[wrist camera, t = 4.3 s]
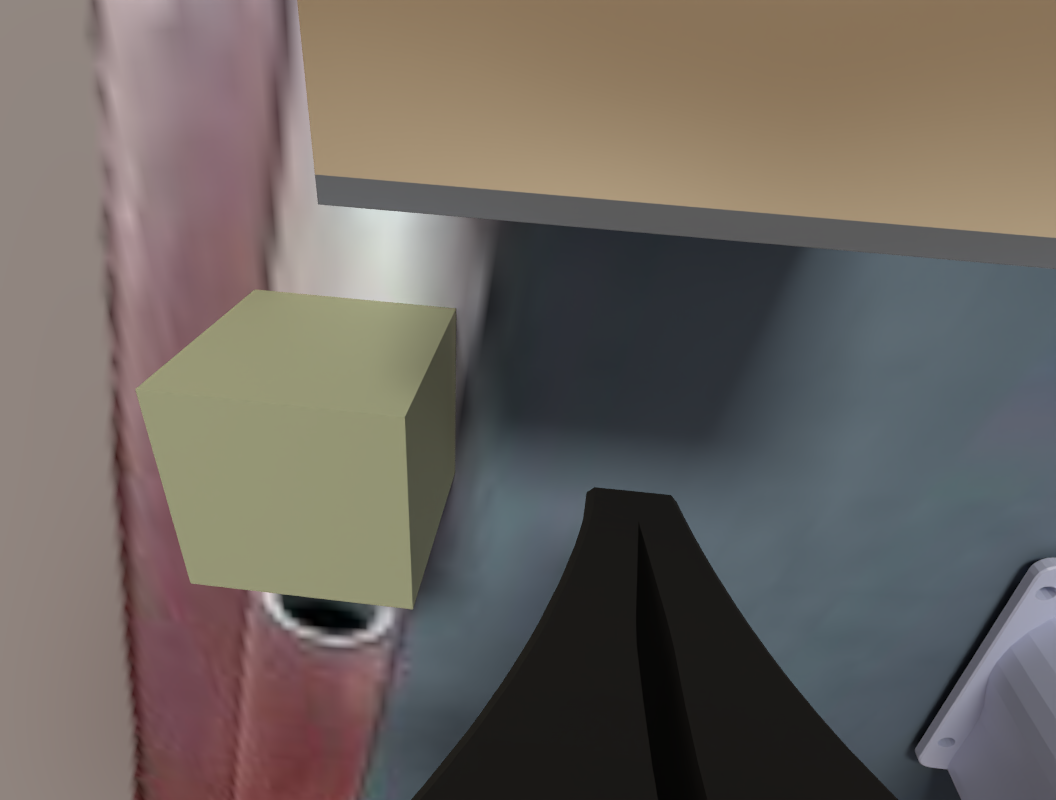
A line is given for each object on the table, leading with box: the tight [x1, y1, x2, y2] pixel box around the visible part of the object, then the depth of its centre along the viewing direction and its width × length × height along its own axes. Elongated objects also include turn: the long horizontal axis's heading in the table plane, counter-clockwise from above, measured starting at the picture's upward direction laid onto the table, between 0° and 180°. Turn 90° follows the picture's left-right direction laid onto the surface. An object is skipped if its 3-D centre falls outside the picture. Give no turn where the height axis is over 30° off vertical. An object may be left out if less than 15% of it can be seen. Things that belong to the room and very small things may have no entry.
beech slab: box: [297, 0, 1056, 269], centre depth 9 cm, size 4×8×8 cm, turn 86°
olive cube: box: [135, 290, 456, 609], centre depth 15 cm, size 5×5×5 cm
